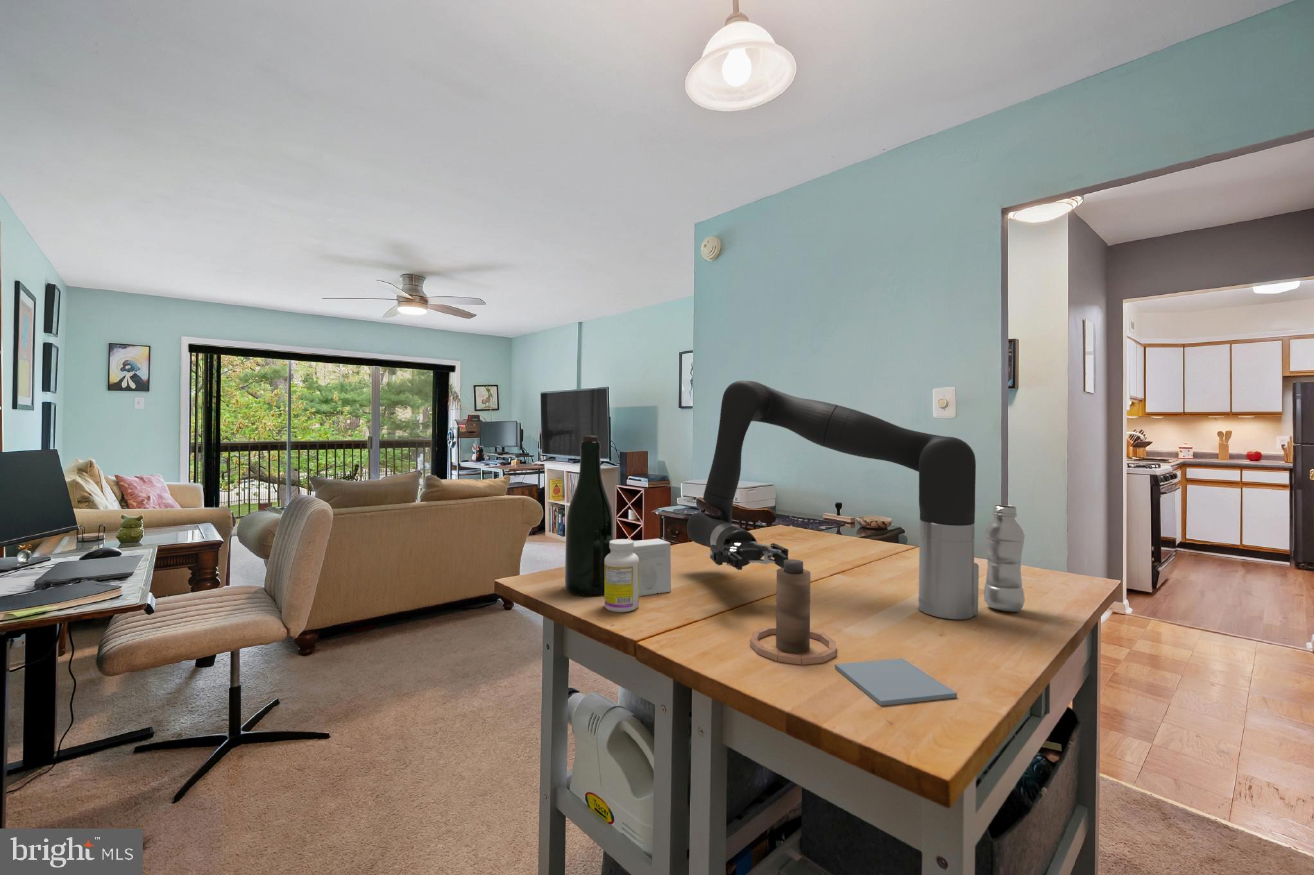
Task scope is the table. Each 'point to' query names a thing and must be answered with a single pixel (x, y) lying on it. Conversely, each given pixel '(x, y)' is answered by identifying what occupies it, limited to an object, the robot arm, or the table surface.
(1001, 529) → the plastic bottle
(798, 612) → the pepper mill
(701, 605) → the table surface
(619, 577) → the supplement bottle
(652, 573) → the skincare box
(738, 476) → the robot arm
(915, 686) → the mat
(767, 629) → the pinkish tan segmented ring
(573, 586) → the wine bottle
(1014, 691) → the table surface
